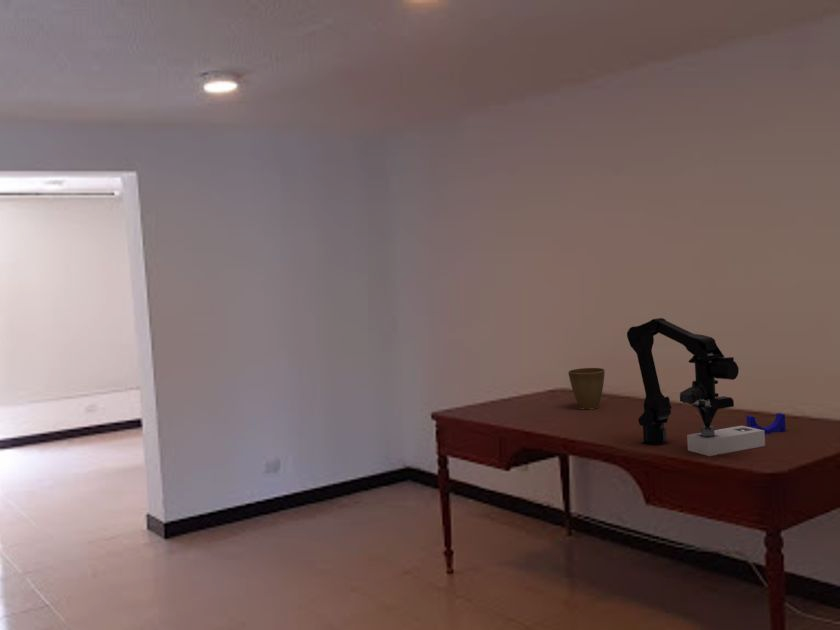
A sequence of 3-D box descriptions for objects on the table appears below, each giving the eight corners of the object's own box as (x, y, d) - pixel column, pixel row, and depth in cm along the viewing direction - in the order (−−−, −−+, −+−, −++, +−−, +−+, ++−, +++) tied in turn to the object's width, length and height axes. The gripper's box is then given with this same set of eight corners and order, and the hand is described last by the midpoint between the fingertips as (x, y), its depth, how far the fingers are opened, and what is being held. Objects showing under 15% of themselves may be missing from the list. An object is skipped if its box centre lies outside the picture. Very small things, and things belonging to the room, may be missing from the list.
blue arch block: (753, 435, 289) (752, 418, 288) (747, 433, 293) (746, 415, 293) (787, 432, 289) (787, 415, 289) (781, 430, 294) (780, 412, 293)
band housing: (687, 450, 274) (687, 434, 273) (742, 440, 282) (741, 425, 281) (709, 456, 264) (708, 440, 264) (765, 446, 272) (764, 430, 272)
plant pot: (576, 404, 368) (574, 367, 367) (610, 405, 361) (608, 367, 360) (565, 411, 355) (563, 373, 354) (601, 412, 348) (599, 372, 347)
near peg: (698, 441, 271) (698, 426, 271) (709, 439, 273) (708, 424, 272) (707, 443, 268) (706, 428, 267) (717, 441, 269) (717, 426, 269)
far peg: (734, 443, 277) (733, 429, 276) (744, 441, 278) (743, 427, 278) (743, 445, 273) (742, 431, 273) (753, 443, 274) (752, 429, 274)
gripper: (664, 377, 275) (667, 425, 276) (704, 383, 257) (706, 435, 258) (693, 373, 279) (695, 421, 280) (734, 379, 261) (736, 430, 262)
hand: (707, 426), depth 270 cm, fingers closed, pressing on near peg
